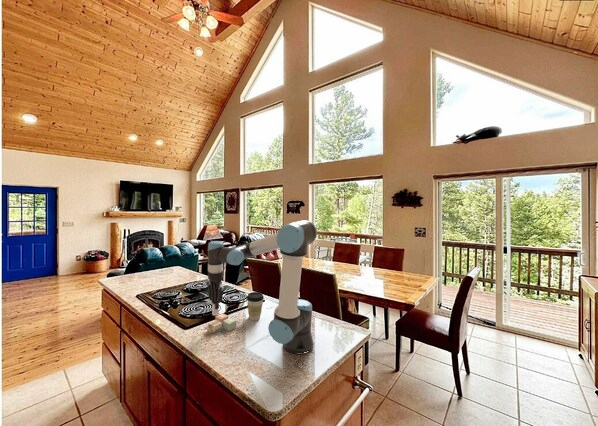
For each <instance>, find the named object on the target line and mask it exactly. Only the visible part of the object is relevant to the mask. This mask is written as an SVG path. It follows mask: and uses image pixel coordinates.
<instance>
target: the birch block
mask: <svg viewBox="0 0 598 426" xmlns="http://www.w3.org/2000/svg"><path fill="white" fill-rule="evenodd" d="M207 326H208V330H209V332H210V333H212V334H213V335H215V333H217V332H219V331H221V330H222V323H221V322H219V321H217V320H213V321H210V322H208V324H207ZM208 330H207V331H208Z"/></svg>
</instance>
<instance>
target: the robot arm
mask: <svg viewBox="0 0 598 426" xmlns="http://www.w3.org/2000/svg"><path fill="white" fill-rule="evenodd" d="M317 235H318V231H317V227H316V226H315V224H314V223H313V222H312V221H309V220H304V219H303V220H298V221H294V222H288V223H287V224H284V225H283V226H282V227H280V228H279V230H278V232H277V233H275V234H271V235H269V236H265V237H263V238H260V239H256V240H253V241H251V242H247V243H244V244H240V245H238V246H235V247H226V246H224V242H223V241H220V240H214V241H209V242H208V244H207V245H208V246H207V279H208V280H207V281H206V283H205V284H206V286H207V293H208V299H209V301H210V302H211V308H212V309H211V312H212V313H211V315H212V316H217V315H219V309H220V308H219V307H220V306H219V305H220V304H221V303H222V302H223V296H224V293H225V292H224V291H225V290H226V286H225V285H223V283H222V280H223V279H224V264H229V265H232V266H239V265H241V264H242V263H243V261H244V260H245V259H249V258H252V257H256V256H259V255H262V254H265V253H268V252H273V251H276V250H279V253H280V255H281V256H282V265H281V275H280V286H279V297H278V304H277V305H278V306H277V307H275V308H274V312H273V319H272V320H271V321H270V322H269V323H268V327H267V329H268V333H269V335H270V337H271V338H272V340H273V341H275V342H276V343H278V344H281V345H283V348H284V349H285V350H286V351H287V350H288V351H290V352H292V353H291V354H293V353H304V352H307V351H310V350H311V349H312V348H313V349H314V344H315V343H314V339H313V335H312V316H313V315H312V314H313V305H312V303H311V302H309V300H305V299H299V296H300V295H299V294H300V287H301V276H302V269H303V268H302V267H303V258H305V257H306V256H307V253H308V246H309V245H312V243H314V241H315V240H316V239H317ZM313 349H312V350H313ZM312 350H311V351H312ZM288 351H287V352H288ZM311 351H310V352H311ZM290 352H289V353H290Z"/></svg>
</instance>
